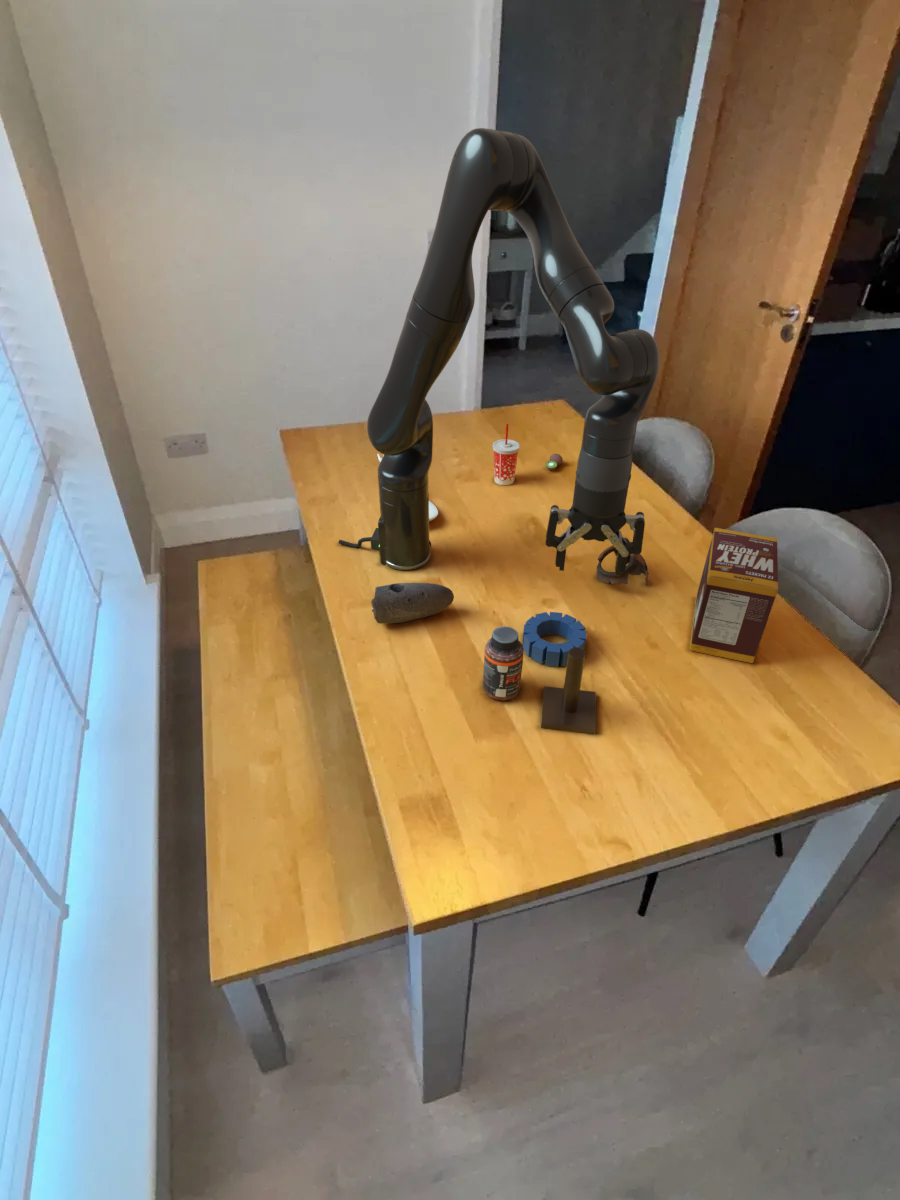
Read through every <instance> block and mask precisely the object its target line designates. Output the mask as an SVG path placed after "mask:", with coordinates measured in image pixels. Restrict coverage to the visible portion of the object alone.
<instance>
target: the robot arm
mask: <svg viewBox="0 0 900 1200" xmlns="http://www.w3.org/2000/svg"><path fill="white" fill-rule="evenodd" d="M489 211H500V212H507V213H508V214H509V215H511V217H512V218H513V219H514V220H515V221H516V223H518V224H519V226H520V227H521V228H522V230H523V231H524V233H525V234H526V236H527V238H528V241H529V243H530V246H531V250H532V256H533V265H534V270H535V276H536V279H537V283H538V286H539V289H540V291H541V293H542V295H543V296H544V298H545V300H546V301H547V303H548V305H549V307H550V308H551V310H552V312H553V313H554V314H555V316H556V317H557V320H558V321H559V322H560V325H562V327H563V329H564V332H565V335H566V339H567V343H568V346H569V348H570V352H571V356H572V360H573V363H574V367H575V369H576V372H577V375H578V377H579V379H580V381H581V382H582V383H583V384H584V385H585V386H586V388H587V389H589V390H590V391H591V392H593V393H595V394H597V395H599V396H602V397H601V398H600V399H599V400H598V401H596V402H595V403H594V404H592V405H591V406H590V407H589V408H588V409H587V411H586V414H585V417H584V421H583V422H584V424H583V428H582V429H583V431H582V439H581V446H580V451H579V454H578V458H577V465H576V471H575V481H574V487H573V497H572V505H571V507H569V509H563V508H559V506H558V505H557V504H553V505H551V506H550V511H549V516H548V524H547V528H546V534H545V543H544V544H545V546H546V547H548V548H551V547H552V548H555V550H556V553H555V554H556V555H555V563H554V565H555V567H556V568H559V570H558V571H561V572H564V571H565V563H566V556H567V549H568V548H569V547H570V546H571V545H575V543H576V542H577V541H578V540H580V538H582V539H583V541H592V540H594V541H597V542H603V543H605V541H607V540H608V541H609V542H610V544H611V546H613V547H614V548H616V549H617V551H618V553H617V556H616V559H615V565H614V572H615V576H620V573H624V571H625V568H626V566H627V565H626V563H627V558H628V556H629V555H630V554H636V555H638V554H642V552H643V551H642V550H643V542H644V535H645V525H646V521H645V520H646V519H645V513H644V512H643V511H638V512H636V513H635V514H626V512H625V509H626V503H627V497H628V491H629V487H630V482H631V478H632V468H633V452H634V445H635V439H636V434H637V425H638V422H639V420H640V417H641V415H642V414H643V411H644V409H645V407H646V405H647V402H648V400H649V397H650V395H651V393H652V391H653V388H654V385H655V383H656V380H657V377H658V372H659V370H660V369H659V368H660V351H659V346H658V344H657V341H656V339H655V338H654V336H653V335H652V334H651V333H650V332H649V331H646V330H644V329H640V328H632V329H628V330H623V331H620V332H617V333H613V334H609V333H608V331H607V329H606V327H605V324H606V323H607V322H608V321H609V320H610V318H611V317H612V316H613V313H614V311H615V302H614V299H613V296H612V295H611V292H610V291H609V290H608V287H607V286H606V285H605V283H604V281H603V280H602V279H601V277H600V275H599V273H598V272H597V271H596V269H595V268H594V266H593V264H592V263H591V262H590V260H589V258H588V257H587V255H586V254H585V252H584V250H583V249H582V247H581V245H580V243H579V242H578V240H577V238H576V236H575V234H574V232H573V230H572V228H571V226H570V223H569V222H568V220H567V218H566V215H565V213H564V210H563V209H562V206H561V203H560V202H559V199H558V197H557V194H556V192H555V190H554V187H553V185H552V182H551V181H550V179H549V176H548V173H547V171H546V169H545V166H544V164H543V162H542V160H541V157H540V155H539V153H538V151H537V150H536V148H535V147H534V144H533V143H532V142H531V141H530V140H529V139H528V138H526V136H523V135H521V134H518V133H515V132H510V131H505V130H504V131H503V130H499V129H493V128H485V127H477V128H473V129H471V130H470V131H468V132H467V133H465V135H464V136H463V137H462V138H461V140H460V141H459V143H458V145H457V147H456V148H455V150H454V153H453V155H452V159H451V162H450V166H449V169H448V172H447V177H446V181H445V185H444V189H443V194H442V198H441V202H440V207H439V210H438V215H437V218H436V223H435V227H434V231H433V233H432V237H431V241H430V244H429V247H428V250H427V254H426V257H425V260H424V264H423V265H422V266H423V267H422V270H421V272H420V274H419V275H420V276H419V278H418V281H417V284H416V286H415V288H414V291H413V294H412V296H411V299H410V303H409V306H408V308H407V312H406V315H405V318H404V322H403V326H402V330H401V331H400V334H399V338H398V341H397V344H396V347H395V350H394V353H393V357H392V360H391V363H390V365H389V369H388V372H387V375H386V377H385V380H384V382H383V384H382V386H381V389H380V391H379V393H378V395H377V397H376V399H375V401H374V403H373V405H372V407H371V409H370V411H369V414H368V417H367V422H366V432H367V436H368V439H369V442H370V444H371V445H372V447H373V448H374V449H375V451H377V453H380V455H381V454H382V457H381V458H382V460H381V462H380V461H379V464H378V467H377V480H378V481H377V482H378V498H379V509H380V510H379V512H380V516H379V518H378V520H377V527H375V529H374V531H373V533H372V536H367V537H366V536H365V537H362V538H359V539H358V541H357V543H352V542H349V541H346V540H343V539H338V544H340V545H343V546H346V547H348V548H352V549H353V548H354V549H358V548H361V547H362V545H363V543H366V542H370V550H371V551H379V559H380V564H383V565H386V566H388V567H389V568H391V569H393V570H397V571H398V570H399V571H413V570H416V569H417V570H418V569H419V568H422V567H424V566H426V565H427V564H428V563H429V561H430V560H431V548H432V542H431V540H430V521H429V501H430V500H429V499H430V497H429V495H430V494H429V492H430V491H429V473H430V468H431V465H432V461H433V449H434V448H433V447H434V446H433V445H434V443H433V442H434V420H433V413H432V409H431V406H430V405H429V403H428V401H427V400H426V398H427V396H428V393H429V392H430V390H431V388H432V387H433V385H434V383H435V382H436V380H437V379H438V378H439V377H440V375H441V374H442V373H443V371H444V369H445V368H446V366H447V364H448V363H449V361H450V360H451V359H452V357H453V355H454V353H455V352H456V350H457V348H458V346H459V344H460V342H461V340H462V338H463V336H464V333H465V331H466V328H467V326H468V323H469V321H470V319H471V316H472V314H473V310H474V307H475V301H476V300H475V299H476V293H475V279H474V271H473V251H474V246H475V243H476V240H477V237H478V234H479V232H480V229H481V226H482V224H483V222H484V220H485V217H486V216H487V213H488V212H489ZM383 454H384V456H383ZM565 519H566V520H568V522H569V526H567V528H566V530H565V531H564V532H563V533H561V534H560V535H559V536H558V535H556V532H557V527H558V525H561V524H563V522H564V520H565ZM626 524H627V525H628V526H629V529H630V530H631V531H633V534H632V535H633V536H632V541H630V542H629V543H627V542H626V540H625V539H624V538H625V537H624V536H623V534H622V531H621V530H622V528H623V527H624V526H626Z"/></svg>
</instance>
